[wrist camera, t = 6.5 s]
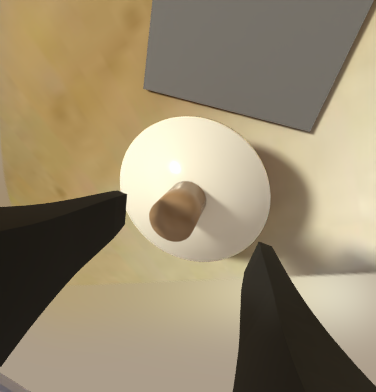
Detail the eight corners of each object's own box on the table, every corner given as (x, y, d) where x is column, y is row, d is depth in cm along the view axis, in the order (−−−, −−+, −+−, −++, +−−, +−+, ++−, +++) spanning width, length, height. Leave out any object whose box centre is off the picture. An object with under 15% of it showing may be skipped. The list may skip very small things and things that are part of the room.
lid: (300, 141, 12) (317, 155, 9) (239, 276, 18) (235, 318, 14) (128, 98, 15) (87, 96, 11) (120, 230, 20) (91, 257, 17)
